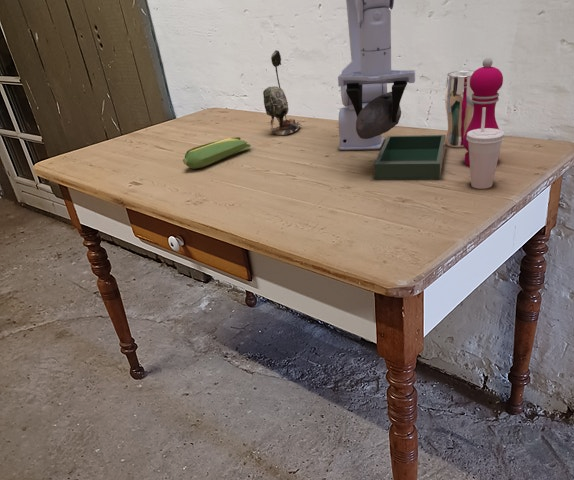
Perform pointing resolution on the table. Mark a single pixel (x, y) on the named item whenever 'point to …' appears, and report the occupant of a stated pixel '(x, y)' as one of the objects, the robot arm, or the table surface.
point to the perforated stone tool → (376, 117)
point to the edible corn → (213, 152)
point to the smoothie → (483, 154)
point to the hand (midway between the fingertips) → (377, 121)
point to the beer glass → (458, 106)
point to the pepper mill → (483, 98)
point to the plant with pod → (278, 104)
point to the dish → (410, 157)
